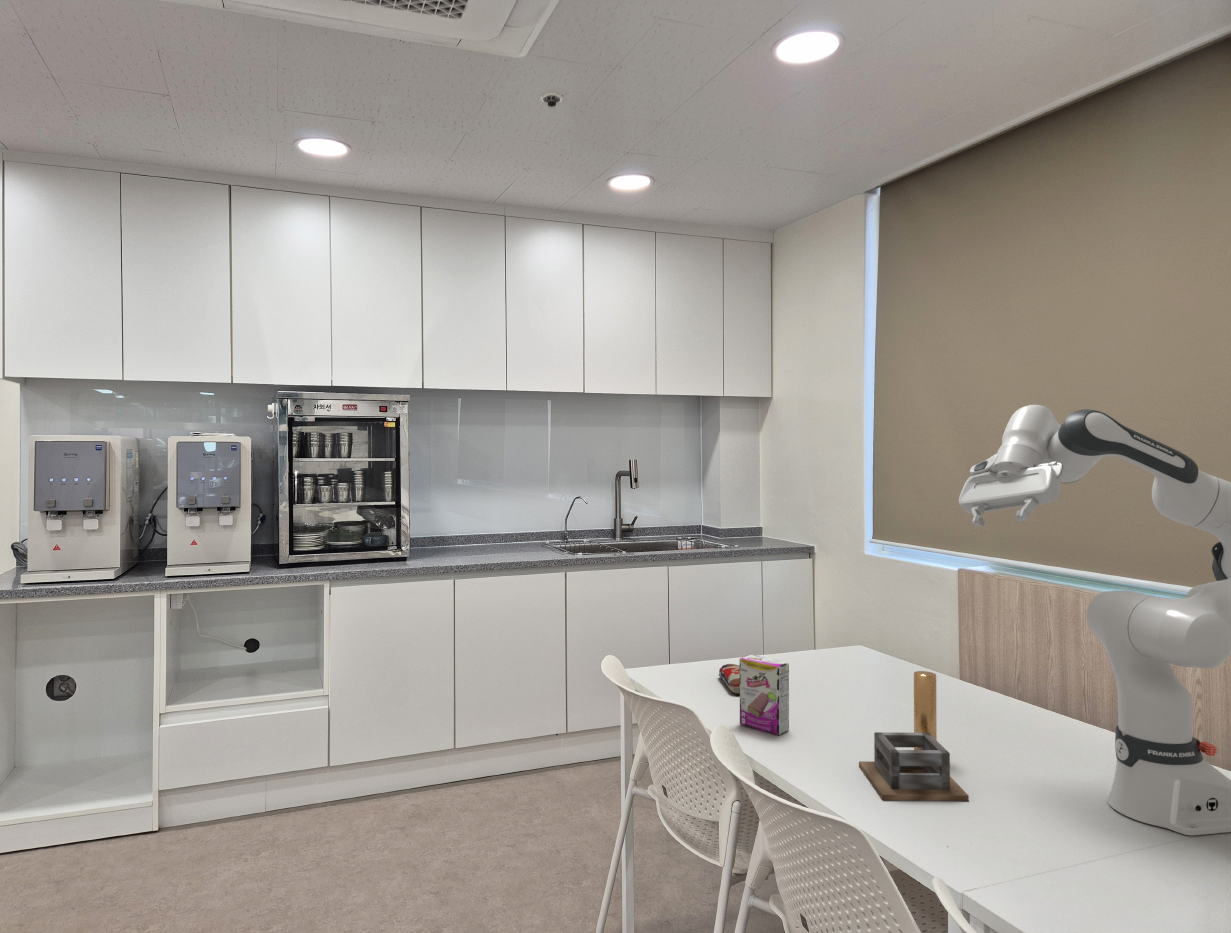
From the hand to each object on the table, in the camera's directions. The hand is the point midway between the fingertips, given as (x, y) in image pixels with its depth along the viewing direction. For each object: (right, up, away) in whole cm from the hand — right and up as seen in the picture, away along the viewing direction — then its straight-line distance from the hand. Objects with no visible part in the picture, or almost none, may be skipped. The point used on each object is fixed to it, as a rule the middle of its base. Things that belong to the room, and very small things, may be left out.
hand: (998, 522), depth 154 cm
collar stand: (-18, -52, -1) cm, 55 cm away
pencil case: (-42, -52, +64) cm, 92 cm away
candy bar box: (-41, -52, +30) cm, 72 cm away
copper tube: (-10, -51, +11) cm, 54 cm away
